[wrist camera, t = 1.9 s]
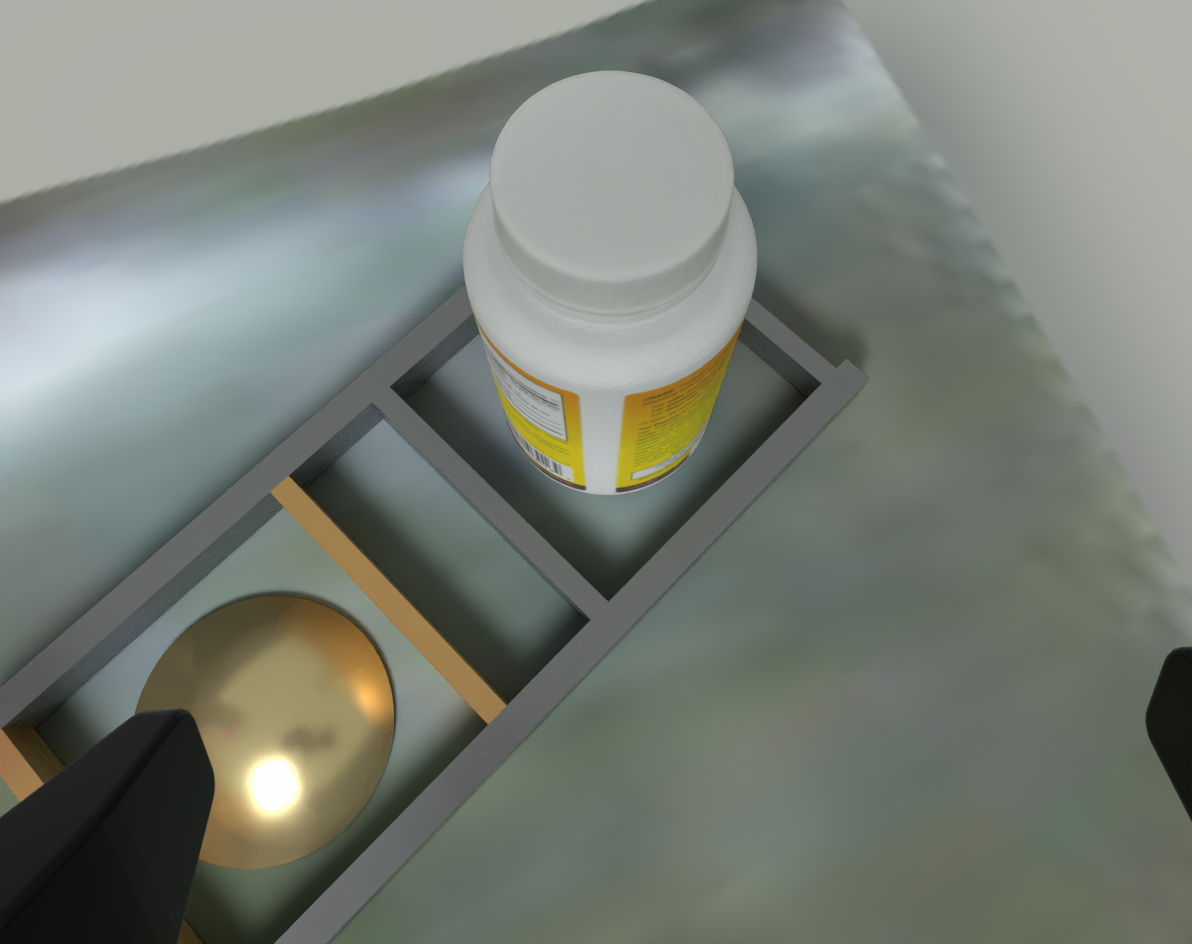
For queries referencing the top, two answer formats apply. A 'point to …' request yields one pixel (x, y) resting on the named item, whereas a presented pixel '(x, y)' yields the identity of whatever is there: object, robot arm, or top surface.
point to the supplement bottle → (609, 277)
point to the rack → (342, 652)
